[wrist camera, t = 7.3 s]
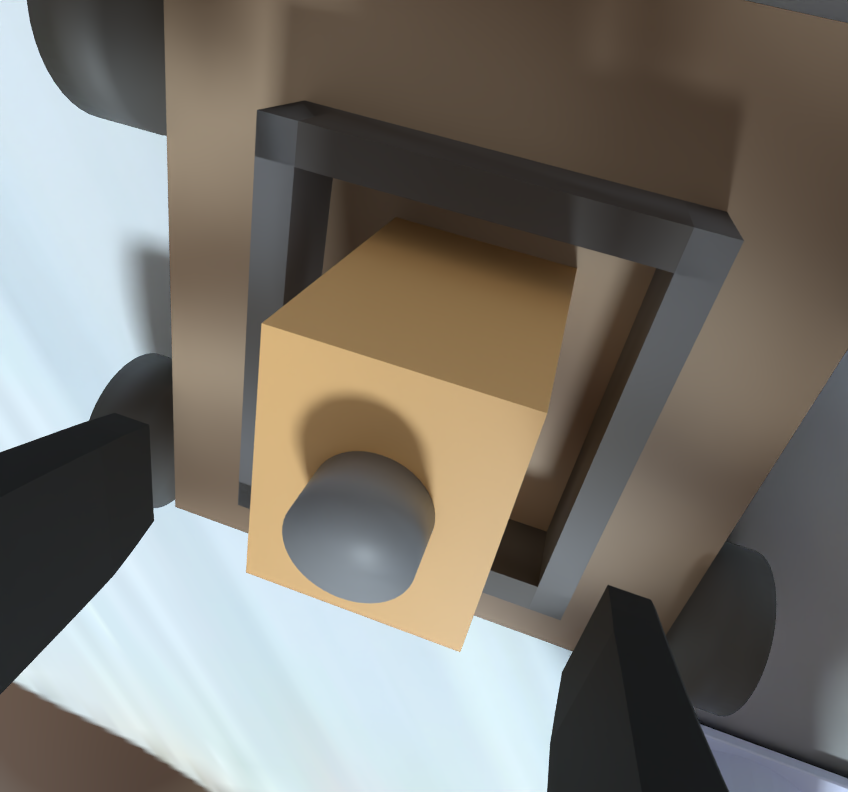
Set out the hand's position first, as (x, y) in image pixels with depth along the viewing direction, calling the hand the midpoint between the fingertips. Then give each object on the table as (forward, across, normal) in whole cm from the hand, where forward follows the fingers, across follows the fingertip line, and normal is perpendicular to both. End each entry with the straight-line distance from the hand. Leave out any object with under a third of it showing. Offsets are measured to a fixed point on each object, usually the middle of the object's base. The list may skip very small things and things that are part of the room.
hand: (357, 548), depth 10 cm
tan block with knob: (+6, 0, 0) cm, 6 cm away
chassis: (+9, 0, 0) cm, 9 cm away
